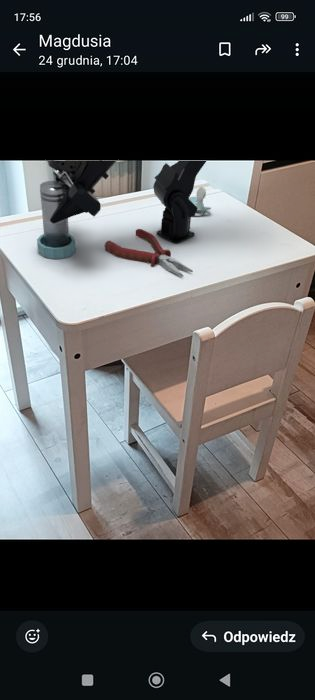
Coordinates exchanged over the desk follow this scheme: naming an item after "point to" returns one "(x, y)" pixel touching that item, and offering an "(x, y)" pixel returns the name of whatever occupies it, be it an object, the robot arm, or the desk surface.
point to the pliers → (148, 254)
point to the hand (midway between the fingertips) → (48, 216)
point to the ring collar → (56, 249)
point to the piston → (50, 201)
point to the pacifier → (199, 201)
